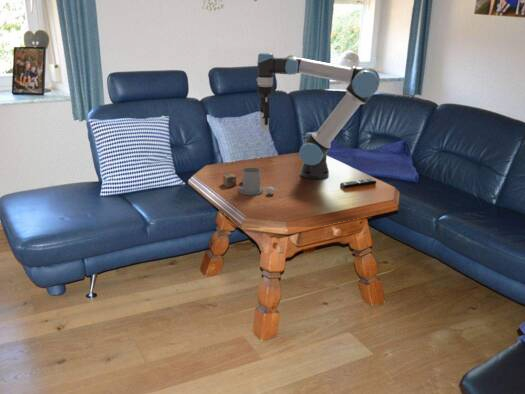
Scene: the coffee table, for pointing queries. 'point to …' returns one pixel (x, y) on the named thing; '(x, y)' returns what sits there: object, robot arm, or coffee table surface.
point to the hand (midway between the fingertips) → (264, 128)
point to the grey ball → (270, 190)
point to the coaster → (250, 192)
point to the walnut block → (229, 180)
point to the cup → (251, 179)
